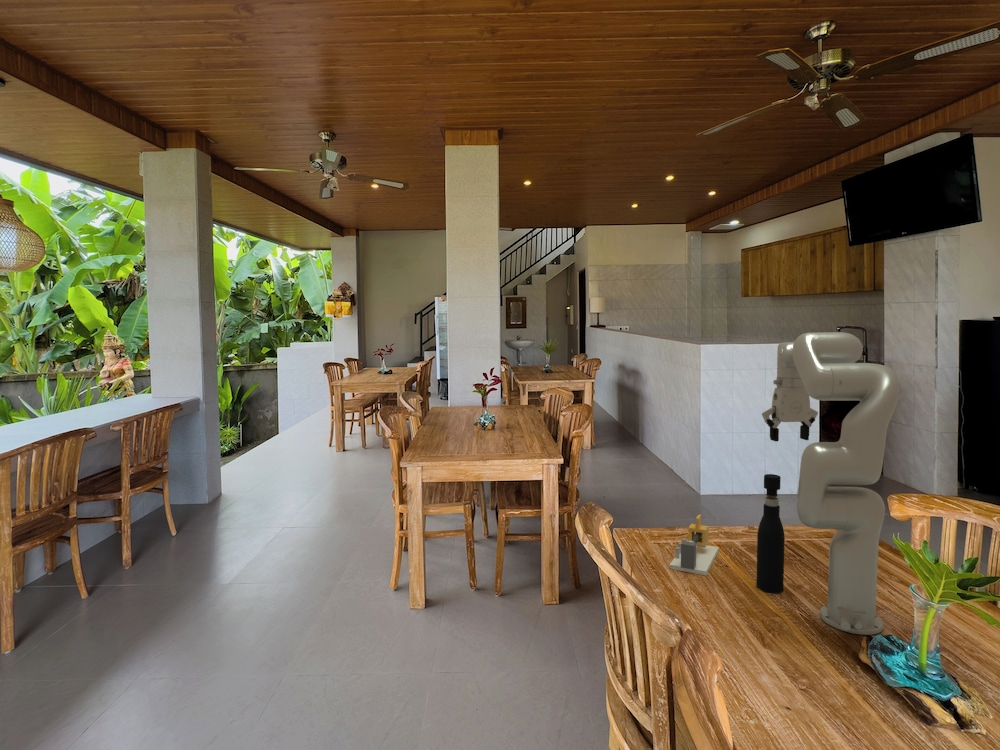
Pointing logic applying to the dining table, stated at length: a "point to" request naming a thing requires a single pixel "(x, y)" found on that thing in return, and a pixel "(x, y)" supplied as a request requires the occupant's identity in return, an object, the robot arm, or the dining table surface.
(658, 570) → the dining table surface
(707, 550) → the linear slide rail
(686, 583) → the dining table surface
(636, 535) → the dining table surface
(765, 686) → the dining table surface
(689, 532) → the sleeve
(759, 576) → the black water bottle
